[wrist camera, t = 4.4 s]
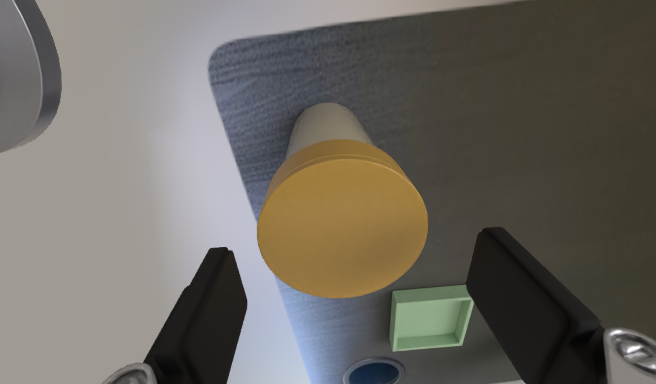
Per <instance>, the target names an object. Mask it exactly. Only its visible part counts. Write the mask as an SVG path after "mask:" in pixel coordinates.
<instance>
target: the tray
mask: <svg viewBox="0 0 656 384" xmlns="http://www.w3.org/2000/svg"><path fill="white" fill-rule="evenodd" d="M473 304H474V302H473V300H472V298H471V297H470V295H469V294H468V292H467V289H466V285H456V286H444V287H432V288H420V289H409V290H397V291H393V292H392V306H391V320H390V334H389V339H390V343H391V347H392V351H404V350H415V349H426V348H438V347H449V346H458V345H459V346H460V345H462V343H463V340H464V336H465V333H466V329H467V326H468V322H469V319H470V315H471V311H472V308H473Z"/></svg>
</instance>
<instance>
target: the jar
mask: <svg viewBox="0 0 656 384" xmlns="http://www.w3.org/2000/svg"><path fill="white" fill-rule="evenodd" d="M334 139H348V140H356V141H360V142H364V143H367V144H370V145H372V146H375V145H374V143H373V142H372V140H371V139H370V137H369V136H368V134H367V133H366V131H365V129H364V128H363V126H362V125H361V123H360V122H359V120H358V119H357V117H356V116H355V115H354V114H353V113H352V112H351V111H350V110H349V109H347V108H346V107H344V106H342V105H339V104H336V103H319V104H316V105H313V106H311V107H309V108H308V109H306V110H305V111H304V112H302V113H301V115H300V116H299V117H298V118H297V120H296V122H295V124H294V126H293V129H292V133H291V137H290V141H289V145H288V149H287V152H286V156H285V160H284V162H285V161H286V160H287V159H288V158H289V157H291V156H292V155H293V154H295V153H296V152H298V151H299V150H301V149H303V148H305V147H307V146H310V145H312V144H315V143H318V142H322V141H327V140H334ZM375 147H376V146H375Z"/></svg>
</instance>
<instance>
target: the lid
mask: <svg viewBox="0 0 656 384" xmlns="http://www.w3.org/2000/svg"><path fill="white" fill-rule="evenodd" d="M427 231H428V218H427V212H426V208H425V204H424V202H423V200H422V198H421V196H420V194H419V193H418V191H417V190H416V188H415V187H414V186H413V184H412V183H411V182H410V180H409V179H408V178H407V176H406V175H405V173H404V172H403V171H402V169H401V168H400V167H399V165H398V164H397V163H396V162H395V161H394V160H393V159H392V158H391V157H390V156H389V155H388V154H386V153H385V152H384V151H382V150H380V149H378V148H377V147H375V146H372V145H370V144H367V143H364V142H360V141H356V140H348V139H334V140H327V141H322V142H318V143H315V144H312V145H310V146H307V147H305V148H303V149H301V150H299V151H298V152H296V153H295V154H293V155H292V156H291V157H289V158H288V159H287V160H286V161H285V162H284V163H283V164H282V165H281V166H280V167H279V169H278V170H277V171H276V173H275V174H274V176H273V178H272V180H271V182H270V185H269V188H268V191H267V194H266V197H265V200H264V203H263V206H262V209H261V212H260V215H259V219H258V225H257V240H258V246H259V249H260V252H261V255H262V257H263V259H264V261H265V263H266V264H267V266H268V267H269V268H270V270H271V271H272V272H273V273H274V274H275V275H276V276H277V277H278V278H279V279H280V280H282V281H283V282H284V283H286V284H287V285H289V286H290V287H292V288H294V289H296V290H298V291H301V292H304V293H306V294H310V295H314V296H318V297H325V298H350V297H357V296H361V295H365V294H368V293H371V292H374V291H377V290H379V289H381V288H384V287H385V286H387V285H389V284H391V283H392V282H394V281H395V280H397V279H398V278H400V277H401V276H402V275H403V274H404V273H405V272H406V271H407V270H408V269H409V268H410V267H411V266H412V265H413V264H414V262H415V261H416V259H417V258H418V256H419V255H420V253H421V251H422V249H423V246H424V244H425V241H426V236H427Z"/></svg>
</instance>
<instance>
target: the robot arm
mask: <svg viewBox="0 0 656 384" xmlns="http://www.w3.org/2000/svg"><path fill="white" fill-rule="evenodd" d="M466 289H467V292H468V294H469V295H470V297H471V298H472V300H473V302H474V303H475V305H476V306H477V308H478V310H479V311H480V313H481V314H482V316H483V318H484V319H485V321H486V322H487V324H488V326H489V327H490V329H491V330H492V332H493V334H494V335H495V337H496V338H497V340H498V342H499V343H500V345H501V346H502V348H503V350H504V351H505V353H506V354H507V356H508V358H509V359H510V361H511V362H512V364H513V366H514V367H515V369H516V370H517V372H518V374H519V375H520V377H521V378H522V380H523V381H524V382H525V383H526V384H656V341H655V340H653V339H652V338H650V337H648V336H646V335H644V334H641V333H639V332H637V331H633V330H630V329H627V328H619V327H614V328H609V329H607V330H605V329H604V328H603V327H602V326H601V325H600V323H601V322H602V321H601V320H600V319H599V318H597V317H596V316H595V315H594V314H593V313H592V312H591V311H590V310H589V309H588V308H587V307H586V306H585V305H584V304H583V303H582V302H581V301H580V300H579V299H577V298H576V297H575V296H574V295H573V294H572V293H571V292H570V291H569V290H568V289H567V288H566V287H565V286H564V285H563V284H562V283H561V282H560V281H558V280H557V279H556V278H555V277H554V276H553V275H552V274H551V273H550V272H549V271H548V270H547V269H546V268H545V267H544V266H543V265H542V264H541V263H540V262H538V261H537V260H536V259H535V258H534V257H533V256H532V255H531V254H530V253H529V252H528V251H527V250H526V249H525V248H524V247H523V246H522V245H521V244H520V243H518V242H517V241H516V240H515V239H514V238H513V237H512V236H511V235H510V234H509V233H508V232H507V231H506V230H505V229H504V228H502V227H491V228H484V229H483V230H482V232H480V233H479V234H478V236H477V240H476V244H475V248H474V252H473V256H472V261H471V265H470V269H469V273H468V277H467V281H466ZM246 310H247V298H246V294H245V291H244V287H243V284H242V281H241V277H240V274H239V270H238V267H237V264H236V260H235V257H234V253H233V251H231V250H230V251H229V250H228V248H227V247H219V248H210V249H209V251H208V253H207V254H206V256H205V258H204V260H203V262H202V263H201V265H200V267H199V269H198V271H197V273H196V274H195V277H194V278H193V280H192V282H191V284H190V285H189V286H187V287H186V288H185V289H184V290H183V292H182V294H181V295H180V297H179V299H178V301H177V303H176V304H175V306H174V308H173V310H172V311H171V313H170V315H169V317H168V319H167V320H166V322H165V324H164V326H163V328H162V329H161V331H160V333H159V335H158V337H157V339H156V340H155V342H154V344H153V346H152V347H151V349H150V351H149V353H148V354H147V356H146V358H145V360H144V362H143V363H134V364H130V365H127V366H125V367H123V368H121V369H119V370H117V371H116V372H115V373H114V374H112V375H111V376H109V377H108V378H107V379H106V380H105V381H104V382H103V383H102V384H227V380H228V376H229V373H230V369H231V365H232V362H233V358H234V354H235V350H236V347H237V343H238V340H239V336H240V332H241V328H242V325H243V321H244V318H245V314H246Z"/></svg>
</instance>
